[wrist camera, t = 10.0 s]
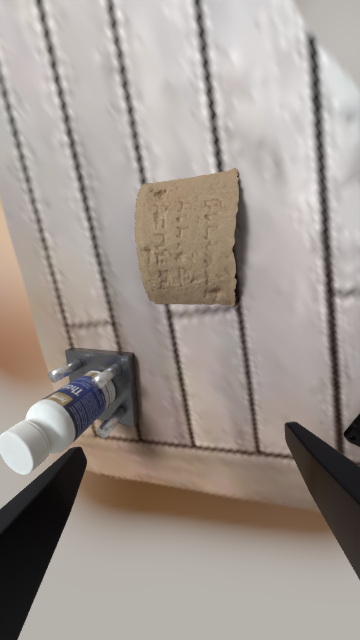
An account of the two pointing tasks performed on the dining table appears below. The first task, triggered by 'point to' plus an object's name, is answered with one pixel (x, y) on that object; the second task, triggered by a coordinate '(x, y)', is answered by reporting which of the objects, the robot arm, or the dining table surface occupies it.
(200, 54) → the dining table surface
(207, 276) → the clay tablet
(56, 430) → the pill bottle
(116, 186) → the dining table surface
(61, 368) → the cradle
